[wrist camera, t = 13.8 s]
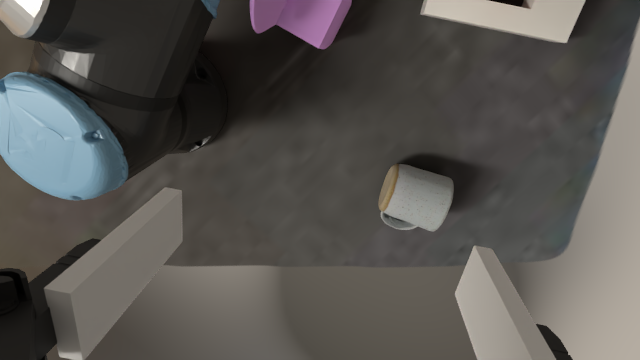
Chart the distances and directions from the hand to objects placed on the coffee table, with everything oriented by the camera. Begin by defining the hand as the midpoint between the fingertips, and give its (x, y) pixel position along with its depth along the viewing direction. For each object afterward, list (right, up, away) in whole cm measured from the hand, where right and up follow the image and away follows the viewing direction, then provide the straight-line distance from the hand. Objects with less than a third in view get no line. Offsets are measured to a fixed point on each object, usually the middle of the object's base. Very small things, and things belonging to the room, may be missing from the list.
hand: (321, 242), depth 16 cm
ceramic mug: (+13, +1, +36) cm, 38 cm away
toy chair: (-1, +24, +28) cm, 37 cm away
